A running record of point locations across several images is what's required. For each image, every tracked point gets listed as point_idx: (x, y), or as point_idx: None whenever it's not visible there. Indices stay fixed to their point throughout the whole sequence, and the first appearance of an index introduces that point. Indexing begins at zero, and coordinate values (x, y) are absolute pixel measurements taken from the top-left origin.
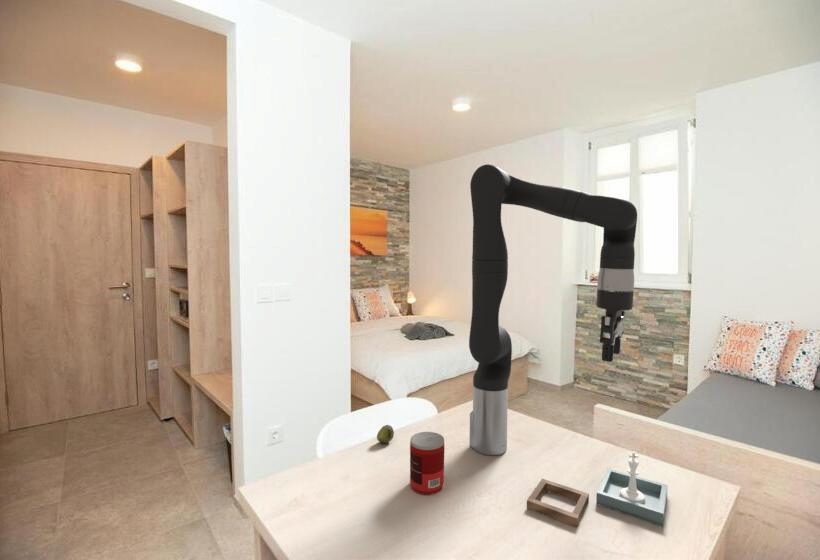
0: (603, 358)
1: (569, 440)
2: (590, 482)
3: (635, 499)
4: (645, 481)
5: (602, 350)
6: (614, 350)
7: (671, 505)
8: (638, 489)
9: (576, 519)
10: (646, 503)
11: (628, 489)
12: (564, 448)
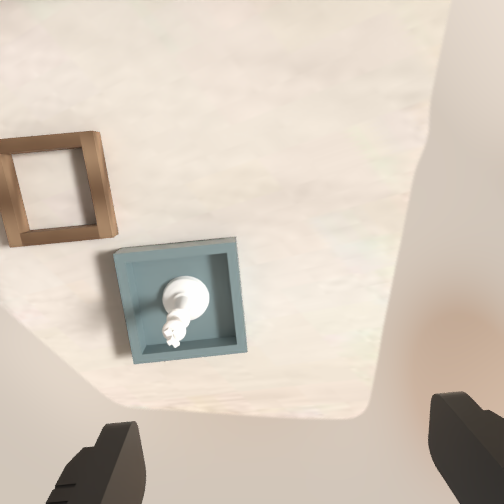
0: (82, 451)
1: (378, 98)
2: (195, 213)
3: (167, 309)
4: (234, 316)
5: (69, 499)
6: (443, 443)
7: None
8: (225, 300)
9: (10, 245)
10: None
11: (177, 298)
12: (320, 104)
